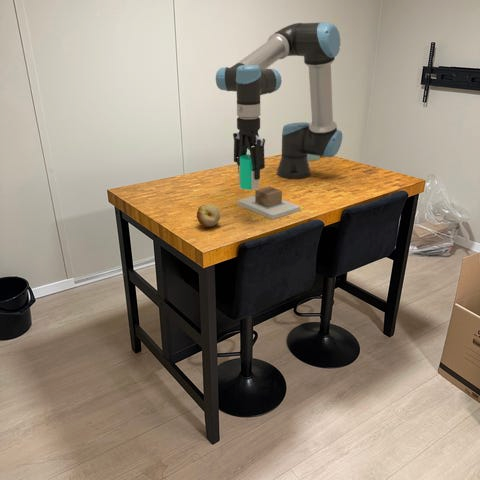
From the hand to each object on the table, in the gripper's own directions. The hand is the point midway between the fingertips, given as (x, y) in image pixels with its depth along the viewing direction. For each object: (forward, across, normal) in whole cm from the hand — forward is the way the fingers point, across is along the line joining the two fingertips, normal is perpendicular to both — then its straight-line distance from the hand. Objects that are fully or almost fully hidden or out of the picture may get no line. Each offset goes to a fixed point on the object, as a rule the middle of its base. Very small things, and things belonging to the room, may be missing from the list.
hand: (248, 185), depth 158 cm
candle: (+1, 0, 0) cm, 1 cm away
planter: (+14, -45, +76) cm, 90 cm away
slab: (+13, -5, +13) cm, 19 cm away
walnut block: (+11, -5, +14) cm, 18 cm away
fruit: (+13, -4, -15) cm, 20 cm away
